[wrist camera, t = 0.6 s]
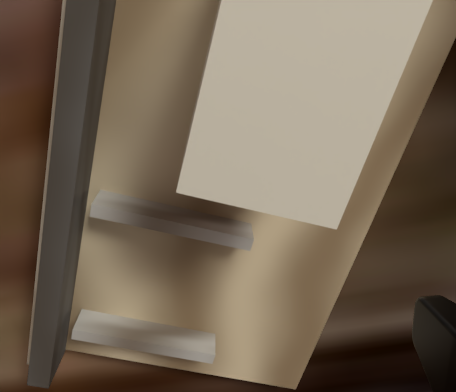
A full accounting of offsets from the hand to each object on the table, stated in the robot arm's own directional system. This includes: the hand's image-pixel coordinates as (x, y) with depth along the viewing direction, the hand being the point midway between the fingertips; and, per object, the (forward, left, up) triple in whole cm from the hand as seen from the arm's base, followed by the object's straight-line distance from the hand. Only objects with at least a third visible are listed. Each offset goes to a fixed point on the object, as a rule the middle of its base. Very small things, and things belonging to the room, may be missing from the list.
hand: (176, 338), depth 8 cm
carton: (-2, -5, -11) cm, 12 cm away
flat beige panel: (-2, +1, -13) cm, 13 cm away
